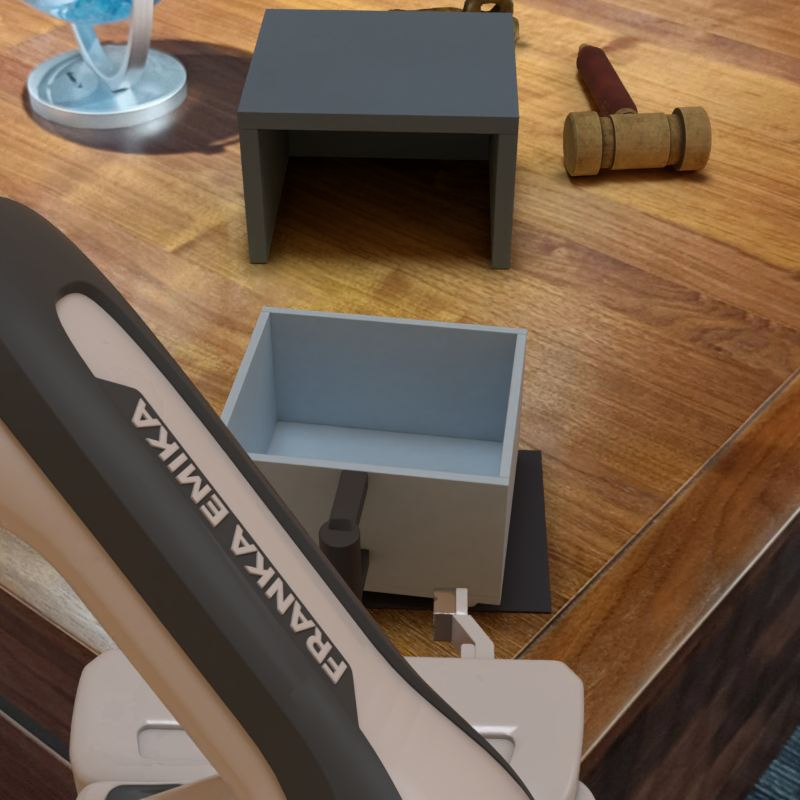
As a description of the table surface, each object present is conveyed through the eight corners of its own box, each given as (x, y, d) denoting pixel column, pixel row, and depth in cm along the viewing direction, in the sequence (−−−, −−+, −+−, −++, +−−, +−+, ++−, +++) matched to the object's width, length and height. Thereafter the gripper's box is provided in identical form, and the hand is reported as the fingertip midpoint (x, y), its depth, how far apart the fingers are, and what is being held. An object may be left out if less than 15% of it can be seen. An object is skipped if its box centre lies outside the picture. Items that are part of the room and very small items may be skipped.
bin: (195, 662, 64) (176, 530, 59) (272, 431, 77) (262, 305, 71) (490, 696, 63) (499, 563, 57) (518, 455, 76) (527, 328, 70)
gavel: (526, 23, 112) (644, 18, 113) (523, 75, 115) (638, 70, 116) (577, 128, 95) (715, 121, 96) (572, 187, 98) (707, 180, 99)
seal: (359, 85, 113) (531, 66, 115) (359, 35, 110) (536, 16, 112) (338, 27, 119) (502, 10, 122) (337, -22, 116) (505, -38, 118)
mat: (187, 602, 67) (187, 601, 67) (221, 443, 76) (221, 441, 76) (551, 613, 67) (551, 611, 67) (541, 451, 76) (541, 450, 76)
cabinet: (249, 263, 91) (236, 111, 83) (274, 149, 103) (265, 8, 95) (509, 269, 90) (519, 116, 83) (504, 154, 102) (512, 12, 95)
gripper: (614, 838, 46) (586, 549, 57) (24, 820, 47) (105, 538, 58) (598, 934, 50) (574, 648, 61) (54, 917, 51) (125, 636, 62)
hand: (343, 594), depth 59 cm, fingers open, 8 cm apart
